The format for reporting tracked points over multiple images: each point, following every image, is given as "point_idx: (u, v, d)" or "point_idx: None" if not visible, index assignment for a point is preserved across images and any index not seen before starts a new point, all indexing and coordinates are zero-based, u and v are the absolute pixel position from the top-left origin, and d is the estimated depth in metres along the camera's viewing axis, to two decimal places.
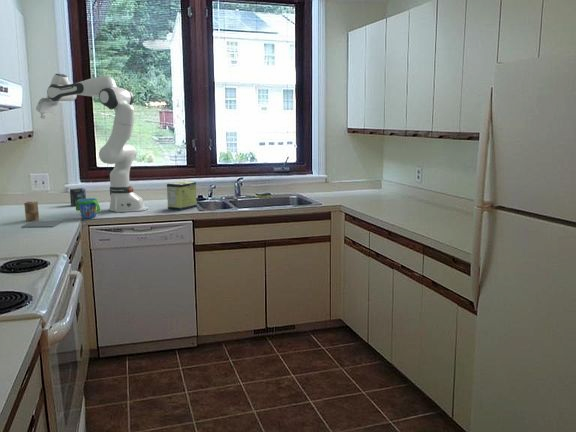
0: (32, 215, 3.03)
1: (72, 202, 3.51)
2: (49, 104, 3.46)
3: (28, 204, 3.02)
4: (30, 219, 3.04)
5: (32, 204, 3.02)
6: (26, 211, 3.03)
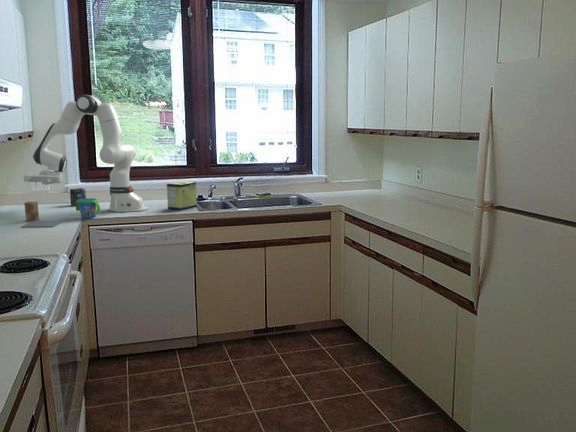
0: (32, 215, 3.03)
1: (72, 202, 3.51)
2: (37, 174, 3.25)
3: (28, 204, 3.02)
4: (30, 219, 3.04)
5: (32, 204, 3.02)
6: (26, 211, 3.03)
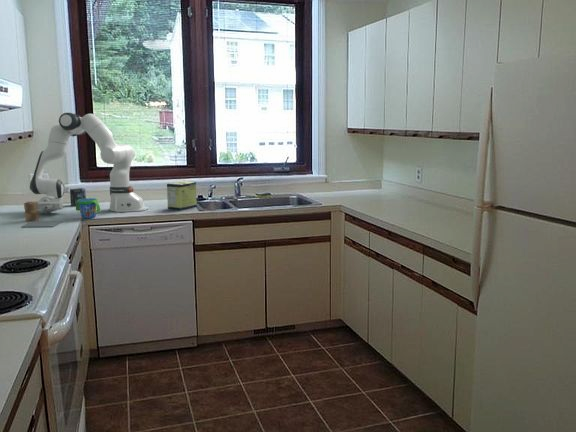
0: (32, 215, 3.03)
1: (72, 202, 3.51)
2: (38, 201, 3.24)
3: (28, 204, 3.02)
4: (30, 219, 3.04)
5: (32, 204, 3.02)
6: (26, 211, 3.03)
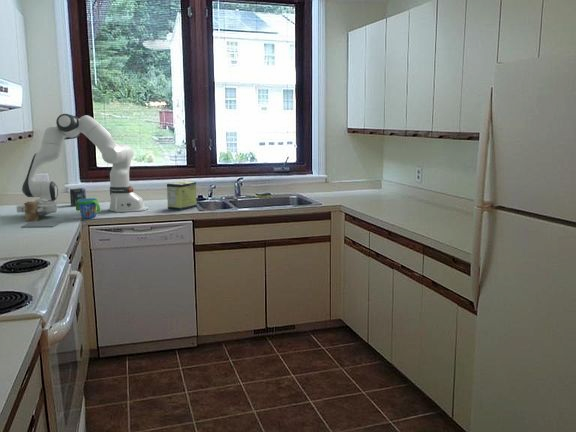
0: (32, 215, 3.03)
1: (72, 202, 3.51)
2: None
3: (28, 204, 3.02)
4: (30, 219, 3.03)
5: (32, 204, 3.02)
6: (26, 211, 3.03)
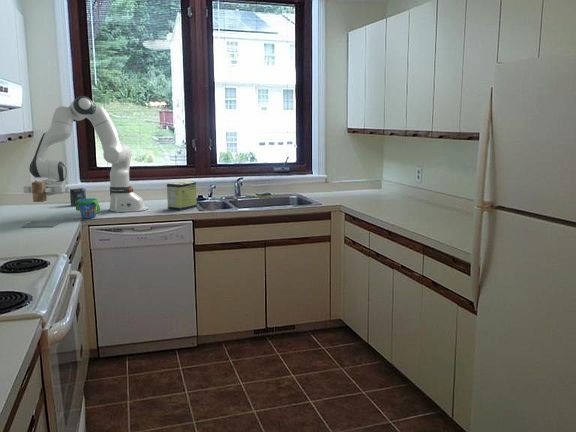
0: (40, 195, 2.90)
1: (72, 202, 3.51)
2: None
3: (35, 184, 2.89)
4: (37, 199, 2.90)
5: (40, 184, 2.89)
6: (33, 191, 2.89)
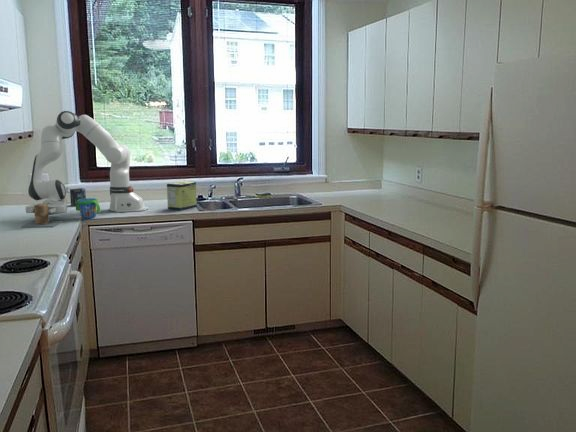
0: (42, 218, 2.92)
1: (72, 202, 3.51)
2: None
3: (38, 206, 2.90)
4: (40, 222, 2.92)
5: (42, 206, 2.91)
6: (36, 214, 2.91)
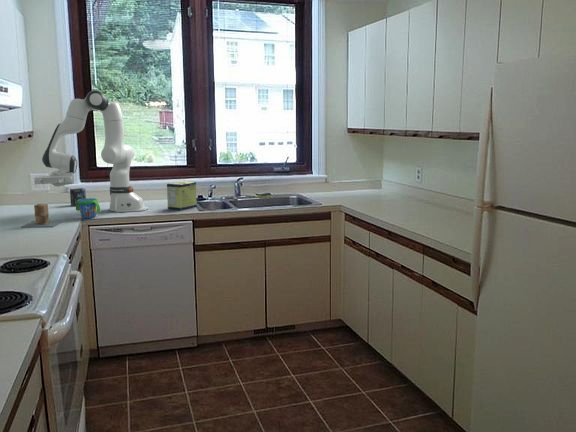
0: (42, 218, 2.92)
1: (72, 202, 3.51)
2: (48, 176, 3.13)
3: (38, 206, 2.90)
4: (40, 222, 2.92)
5: (42, 206, 2.91)
6: (36, 214, 2.91)
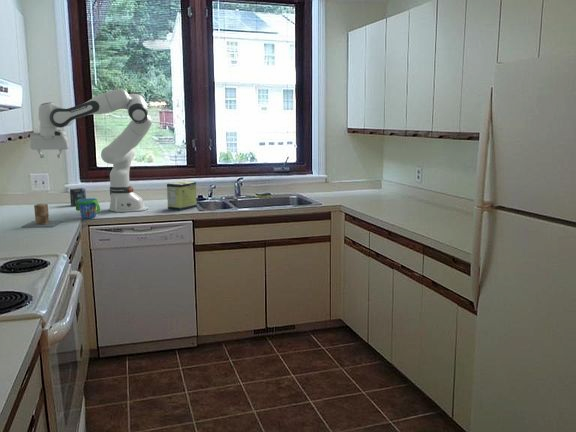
0: (42, 218, 2.92)
1: (72, 202, 3.51)
2: (40, 139, 3.08)
3: (38, 206, 2.90)
4: (40, 222, 2.92)
5: (42, 206, 2.91)
6: (36, 214, 2.91)
